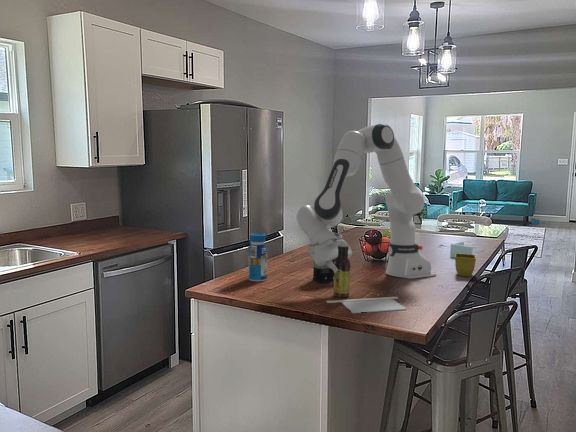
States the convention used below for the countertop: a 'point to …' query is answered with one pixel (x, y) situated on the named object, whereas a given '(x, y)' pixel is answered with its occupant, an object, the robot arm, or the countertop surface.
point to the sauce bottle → (342, 273)
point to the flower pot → (465, 264)
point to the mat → (373, 306)
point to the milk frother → (322, 273)
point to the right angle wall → (460, 249)
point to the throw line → (361, 299)
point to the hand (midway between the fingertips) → (343, 269)
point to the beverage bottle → (257, 258)
